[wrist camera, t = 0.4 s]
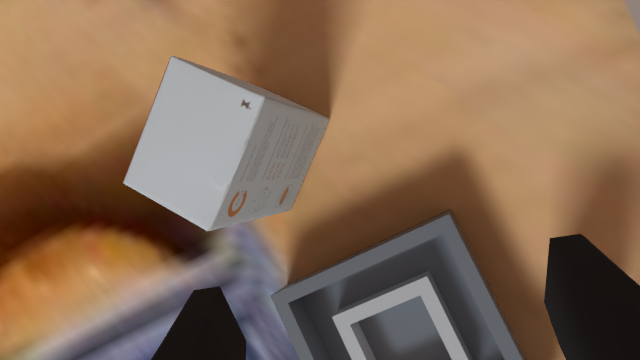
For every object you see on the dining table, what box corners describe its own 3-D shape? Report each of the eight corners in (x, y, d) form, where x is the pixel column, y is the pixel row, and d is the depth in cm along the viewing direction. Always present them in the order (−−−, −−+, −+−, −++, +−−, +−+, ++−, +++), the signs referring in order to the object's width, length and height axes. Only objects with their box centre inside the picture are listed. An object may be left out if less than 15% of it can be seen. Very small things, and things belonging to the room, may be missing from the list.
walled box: (542, 392, 35) (551, 416, 32) (364, 453, 38) (354, 480, 35) (450, 209, 36) (449, 214, 33) (286, 284, 40) (270, 295, 37)
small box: (261, 87, 40) (169, 50, 28) (331, 118, 39) (268, 94, 26) (223, 179, 41) (118, 184, 29) (290, 213, 40) (210, 234, 27)
